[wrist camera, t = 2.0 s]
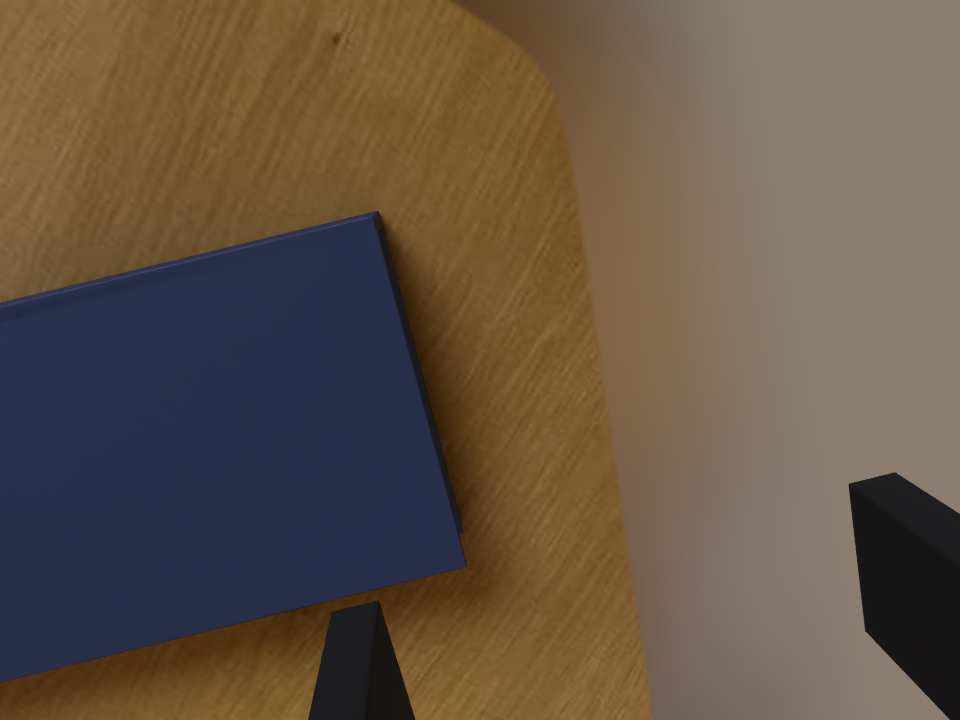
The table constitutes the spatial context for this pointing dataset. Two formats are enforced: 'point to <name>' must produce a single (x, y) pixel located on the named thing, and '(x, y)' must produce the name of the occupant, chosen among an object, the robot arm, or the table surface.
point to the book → (213, 447)
